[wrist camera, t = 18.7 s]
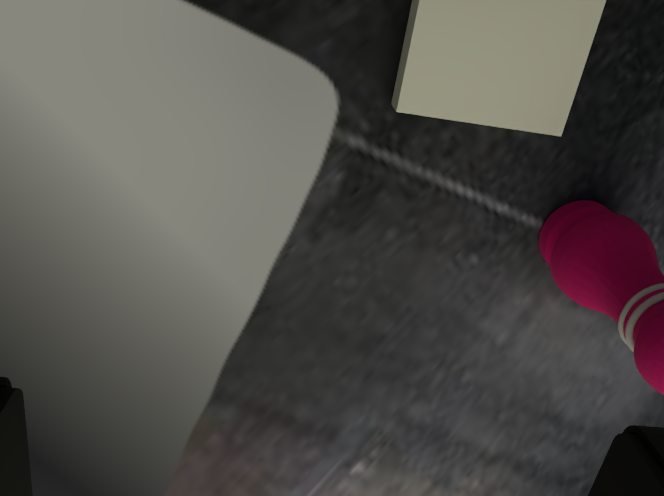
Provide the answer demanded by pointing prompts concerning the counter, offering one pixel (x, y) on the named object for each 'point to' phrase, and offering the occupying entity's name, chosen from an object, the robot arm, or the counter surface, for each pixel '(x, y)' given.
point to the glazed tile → (496, 61)
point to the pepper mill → (610, 276)
